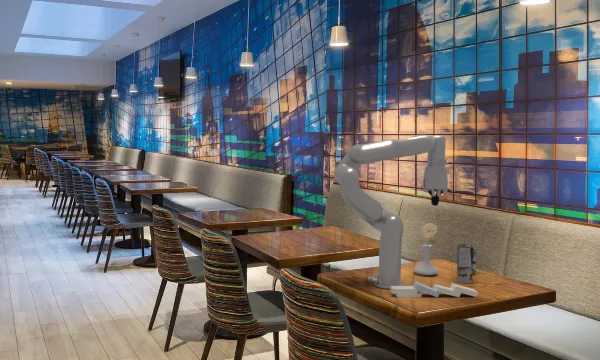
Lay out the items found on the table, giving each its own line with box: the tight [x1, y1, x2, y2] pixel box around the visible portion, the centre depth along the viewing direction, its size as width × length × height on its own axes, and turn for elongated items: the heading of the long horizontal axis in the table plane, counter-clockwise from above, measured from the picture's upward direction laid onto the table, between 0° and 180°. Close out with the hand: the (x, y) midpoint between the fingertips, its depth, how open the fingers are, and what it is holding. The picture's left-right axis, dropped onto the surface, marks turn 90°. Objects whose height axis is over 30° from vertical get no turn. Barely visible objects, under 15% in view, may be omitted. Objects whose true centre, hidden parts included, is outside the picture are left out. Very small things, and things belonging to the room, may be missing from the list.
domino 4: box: [432, 283, 462, 298], centre depth 244 cm, size 2×5×10 cm
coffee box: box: [456, 243, 474, 284], centre depth 268 cm, size 9×6×16 cm
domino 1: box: [389, 285, 418, 295], centre depth 244 cm, size 2×5×10 cm
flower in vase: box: [413, 222, 439, 276], centre depth 279 cm, size 13×11×25 cm
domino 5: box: [449, 282, 479, 298], centre depth 244 cm, size 2×5×10 cm
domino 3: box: [412, 280, 440, 298], centre depth 243 cm, size 2×5×10 cm
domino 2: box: [394, 290, 423, 298], centre depth 244 cm, size 2×5×10 cm
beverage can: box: [472, 247, 477, 276], centre depth 283 cm, size 8×8×12 cm
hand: (434, 205), depth 260 cm, fingers closed
